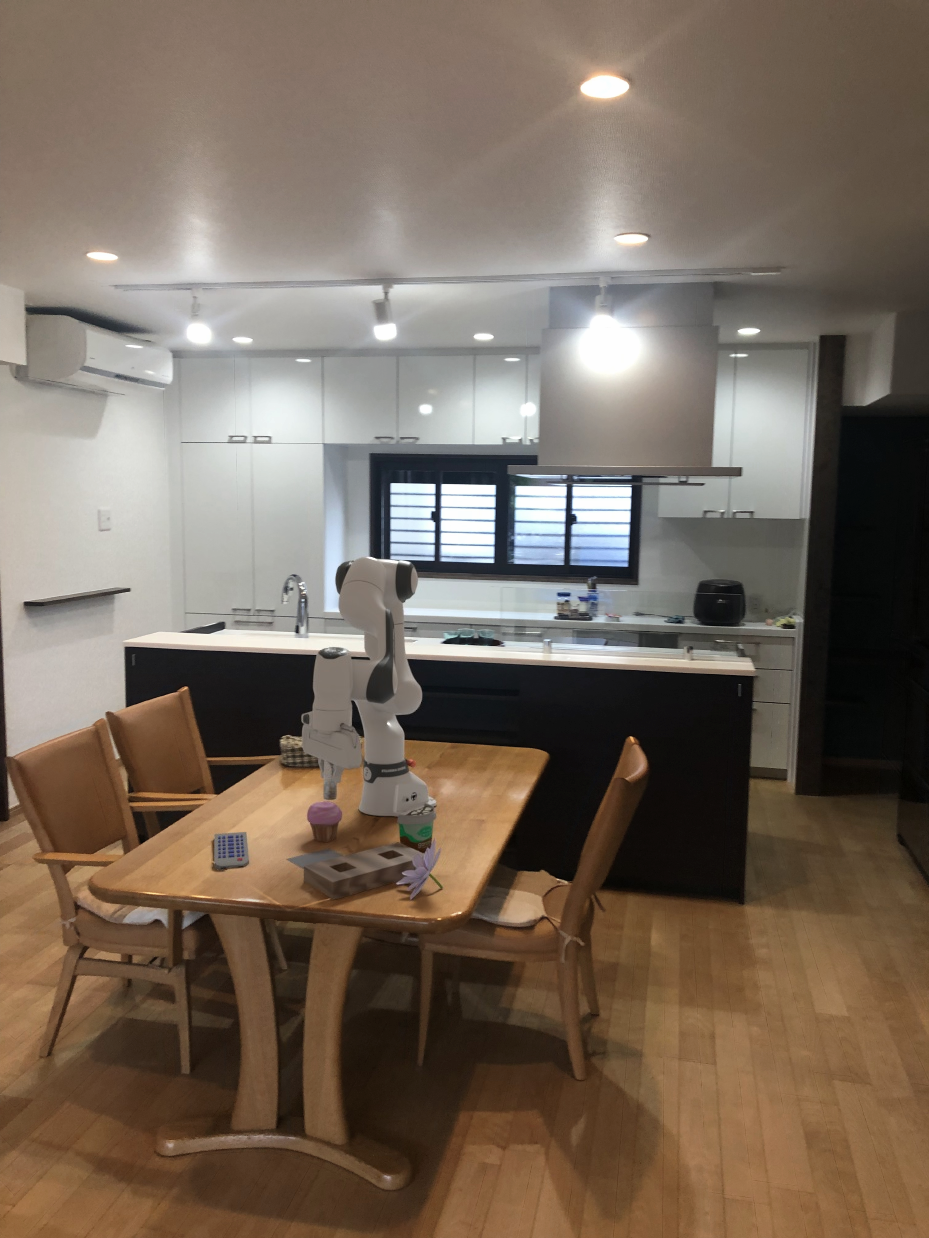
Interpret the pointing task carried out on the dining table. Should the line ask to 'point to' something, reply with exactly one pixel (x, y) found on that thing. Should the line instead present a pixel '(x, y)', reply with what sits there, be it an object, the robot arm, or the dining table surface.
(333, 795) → the peg
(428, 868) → the water lily
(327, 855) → the mat
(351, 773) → the dining table surface
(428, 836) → the food container
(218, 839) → the remote control
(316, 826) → the cupcake
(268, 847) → the dining table surface
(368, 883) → the hole block
